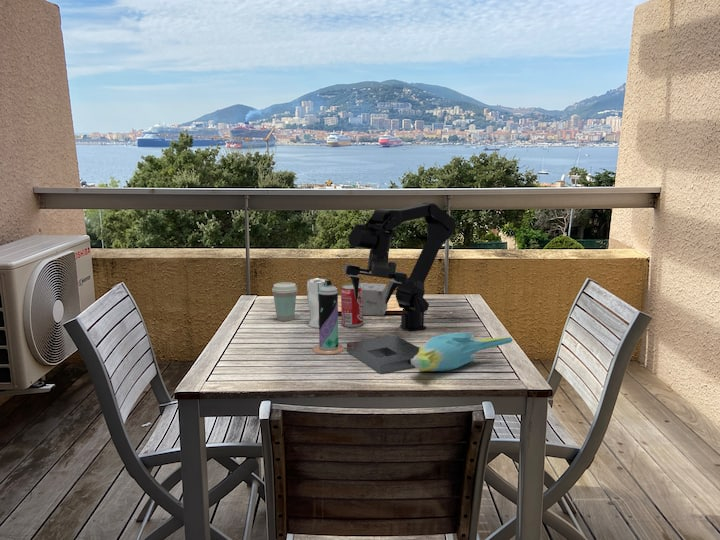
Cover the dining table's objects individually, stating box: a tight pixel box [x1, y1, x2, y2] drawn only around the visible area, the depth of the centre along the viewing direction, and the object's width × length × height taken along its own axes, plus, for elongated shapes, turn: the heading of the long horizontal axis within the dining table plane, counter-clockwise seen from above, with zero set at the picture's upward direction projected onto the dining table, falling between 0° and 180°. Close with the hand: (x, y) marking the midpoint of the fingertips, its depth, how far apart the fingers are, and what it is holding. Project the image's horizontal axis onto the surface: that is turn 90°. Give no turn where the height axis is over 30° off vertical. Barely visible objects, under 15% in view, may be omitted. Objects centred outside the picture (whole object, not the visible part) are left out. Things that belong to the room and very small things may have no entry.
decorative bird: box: [408, 332, 513, 372], centre depth 162 cm, size 14×30×9 cm, turn 126°
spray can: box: [318, 279, 339, 351], centre depth 175 cm, size 6×6×20 cm
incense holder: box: [359, 282, 388, 317], centre depth 214 cm, size 10×8×10 cm
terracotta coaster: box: [312, 343, 345, 356], centre depth 177 cm, size 9×9×1 cm
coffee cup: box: [271, 281, 298, 322], centre depth 208 cm, size 9×8×12 cm
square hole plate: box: [346, 334, 420, 375], centre depth 170 cm, size 16×20×2 cm
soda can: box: [340, 283, 364, 328], centre depth 200 cm, size 7×7×13 cm
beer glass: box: [306, 277, 327, 329], centre depth 200 cm, size 7×7×15 cm
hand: (371, 301), depth 185 cm, fingers open, 9 cm apart
